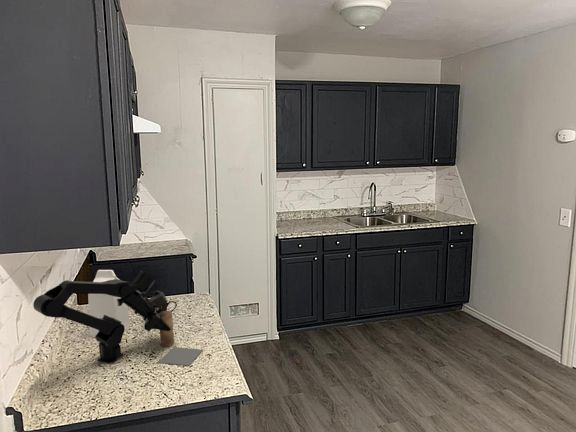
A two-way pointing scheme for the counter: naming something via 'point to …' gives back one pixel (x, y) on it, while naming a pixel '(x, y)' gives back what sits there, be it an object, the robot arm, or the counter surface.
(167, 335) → the pepper mill
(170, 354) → the mat
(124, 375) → the counter surface
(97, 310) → the milk
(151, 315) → the robot arm
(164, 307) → the coffee mug
